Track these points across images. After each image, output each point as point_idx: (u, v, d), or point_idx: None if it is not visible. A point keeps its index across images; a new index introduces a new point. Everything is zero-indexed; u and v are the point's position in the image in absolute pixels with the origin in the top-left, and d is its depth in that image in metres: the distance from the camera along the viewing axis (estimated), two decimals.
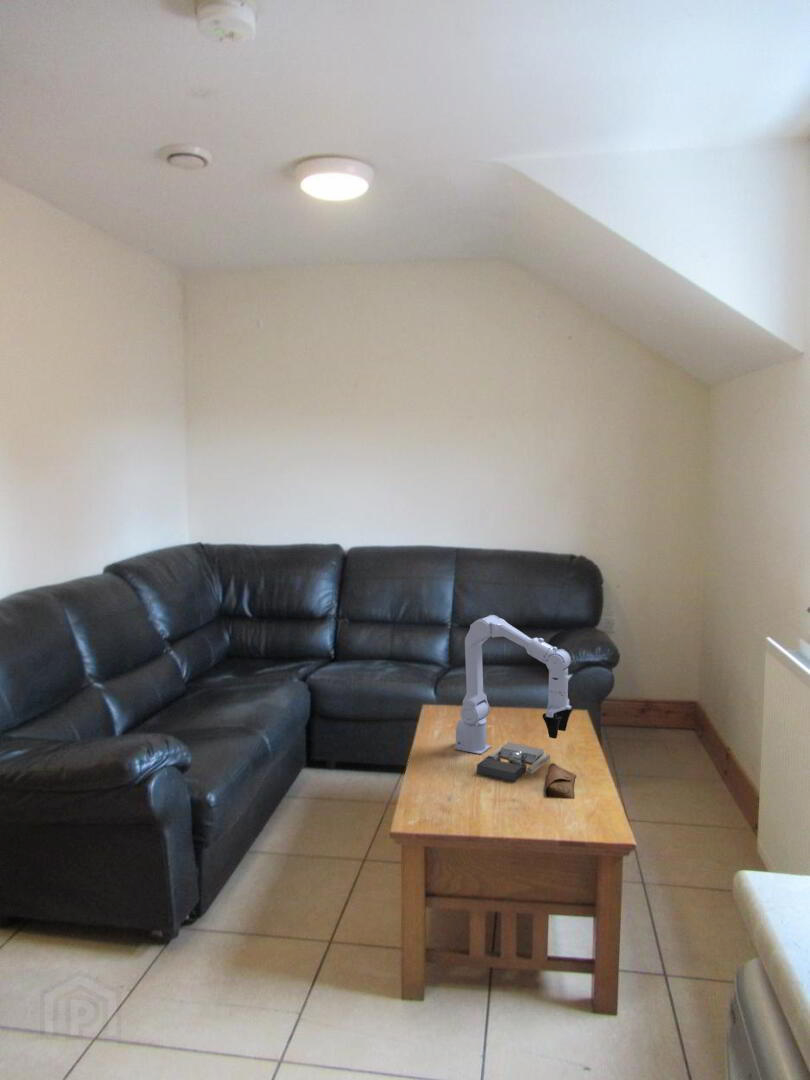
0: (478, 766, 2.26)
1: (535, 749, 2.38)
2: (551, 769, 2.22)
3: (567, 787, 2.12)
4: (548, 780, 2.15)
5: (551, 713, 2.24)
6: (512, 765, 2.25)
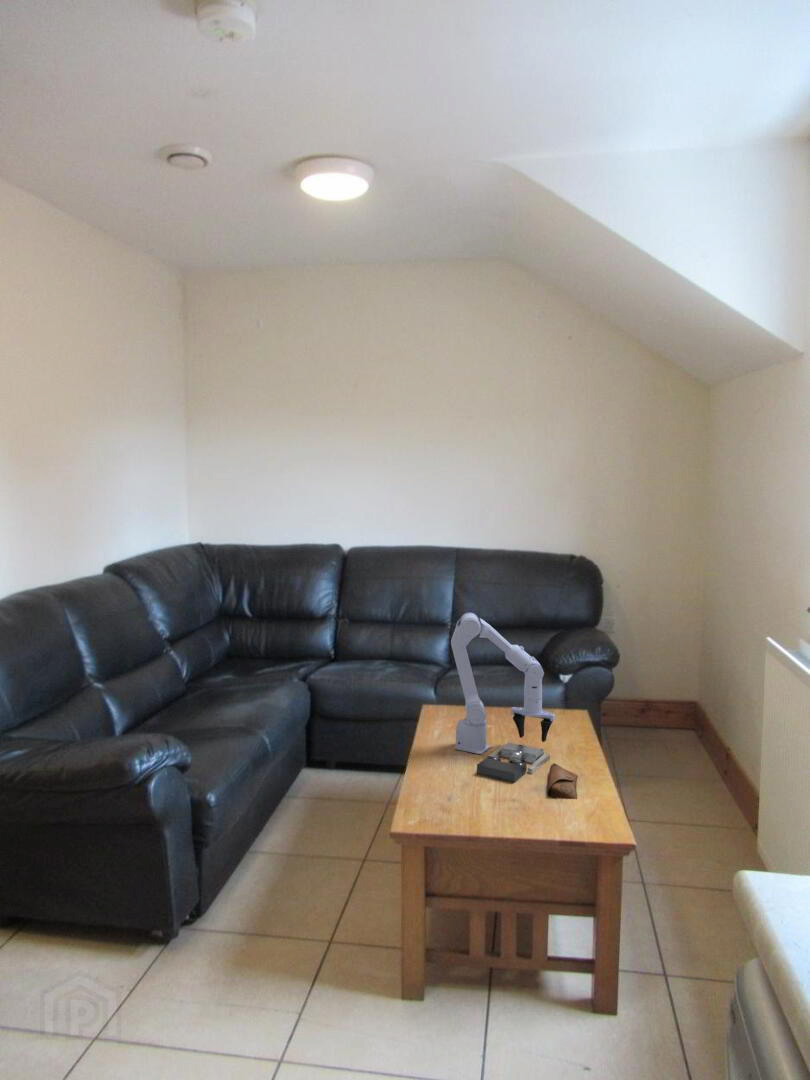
0: (478, 766, 2.26)
1: (535, 749, 2.38)
2: (553, 769, 2.22)
3: (569, 787, 2.12)
4: (550, 780, 2.14)
5: (511, 710, 2.49)
6: (512, 765, 2.25)
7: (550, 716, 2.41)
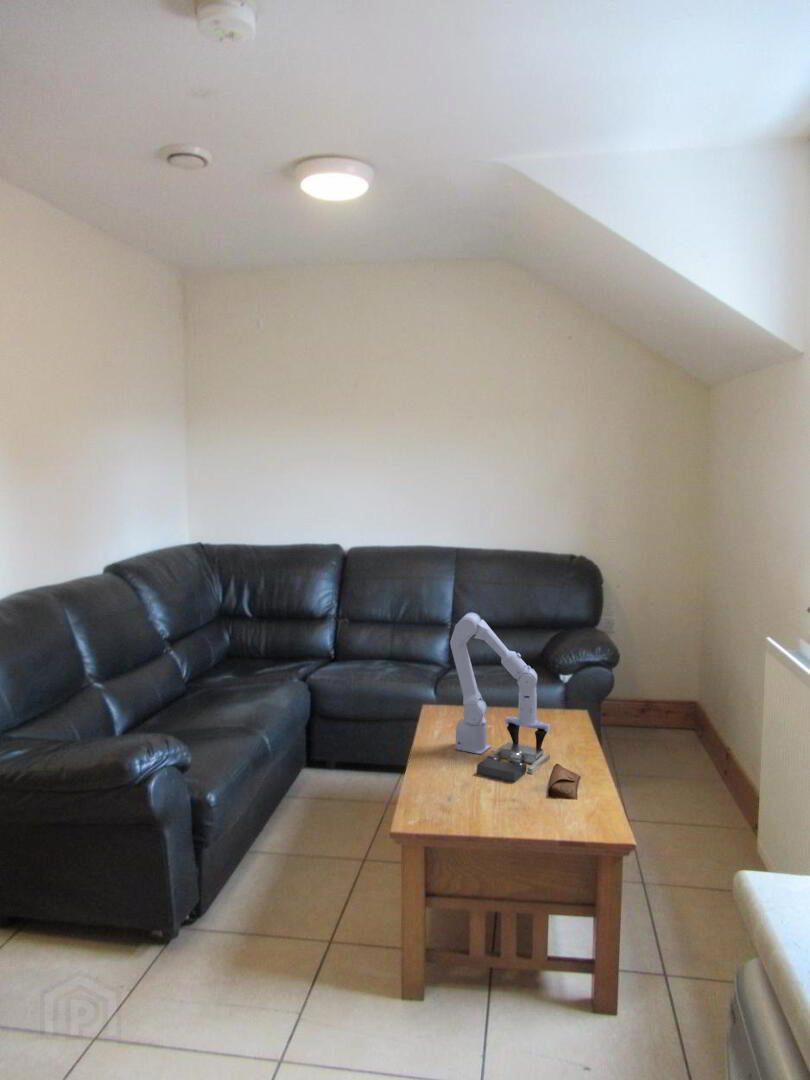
0: (478, 766, 2.26)
1: (535, 749, 2.38)
2: (555, 769, 2.21)
3: (570, 787, 2.12)
4: (551, 780, 2.14)
5: None
6: (512, 765, 2.25)
7: (545, 726, 2.38)
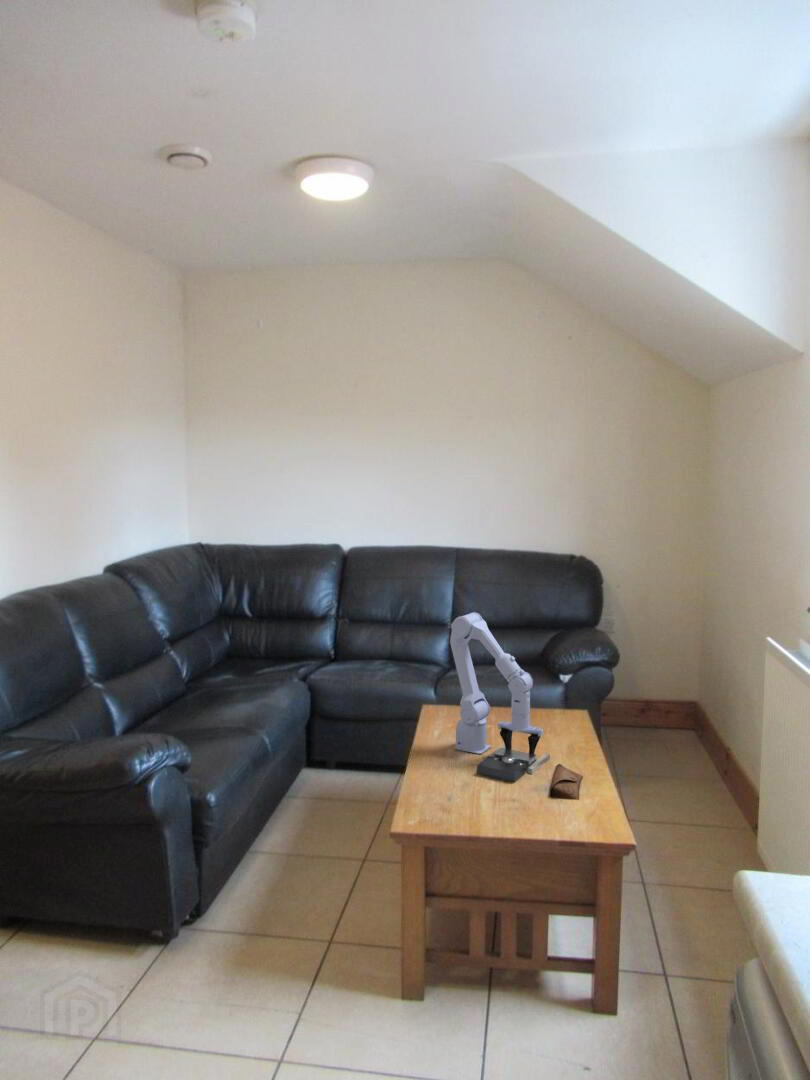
0: (478, 766, 2.26)
1: (528, 755, 2.33)
2: (557, 770, 2.21)
3: (572, 788, 2.12)
4: (553, 780, 2.14)
5: (498, 724, 2.40)
6: (512, 765, 2.25)
7: (538, 731, 2.33)
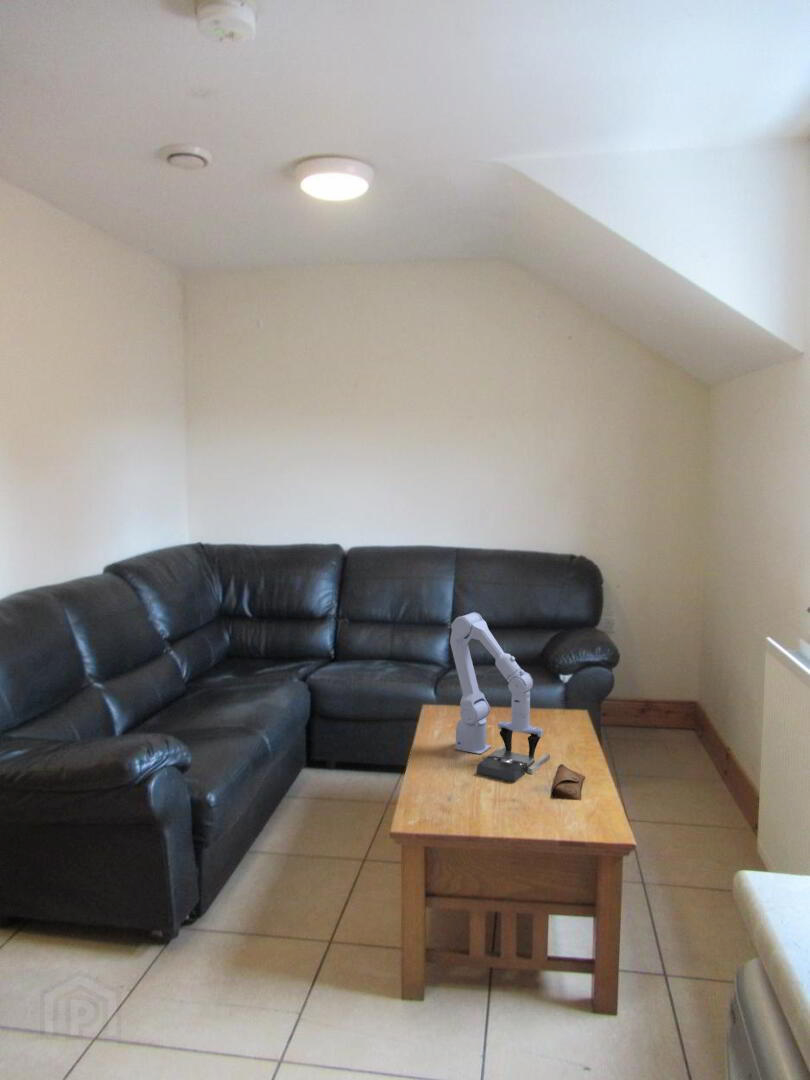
0: (478, 766, 2.26)
1: (526, 757, 2.32)
2: (559, 770, 2.21)
3: (574, 788, 2.12)
4: (555, 781, 2.14)
5: None
6: (512, 765, 2.25)
7: (538, 732, 2.33)
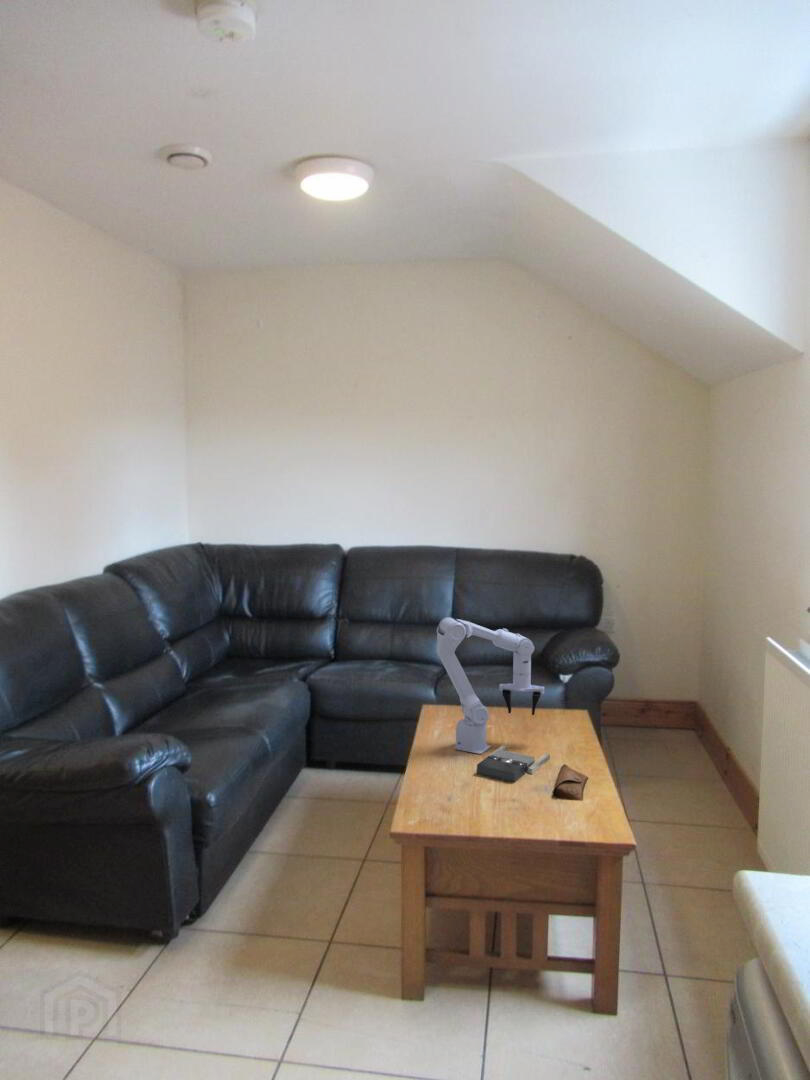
0: (478, 766, 2.26)
1: (526, 757, 2.32)
2: (562, 770, 2.21)
3: (576, 788, 2.11)
4: (557, 781, 2.14)
5: None
6: (512, 765, 2.25)
7: (541, 689, 2.47)
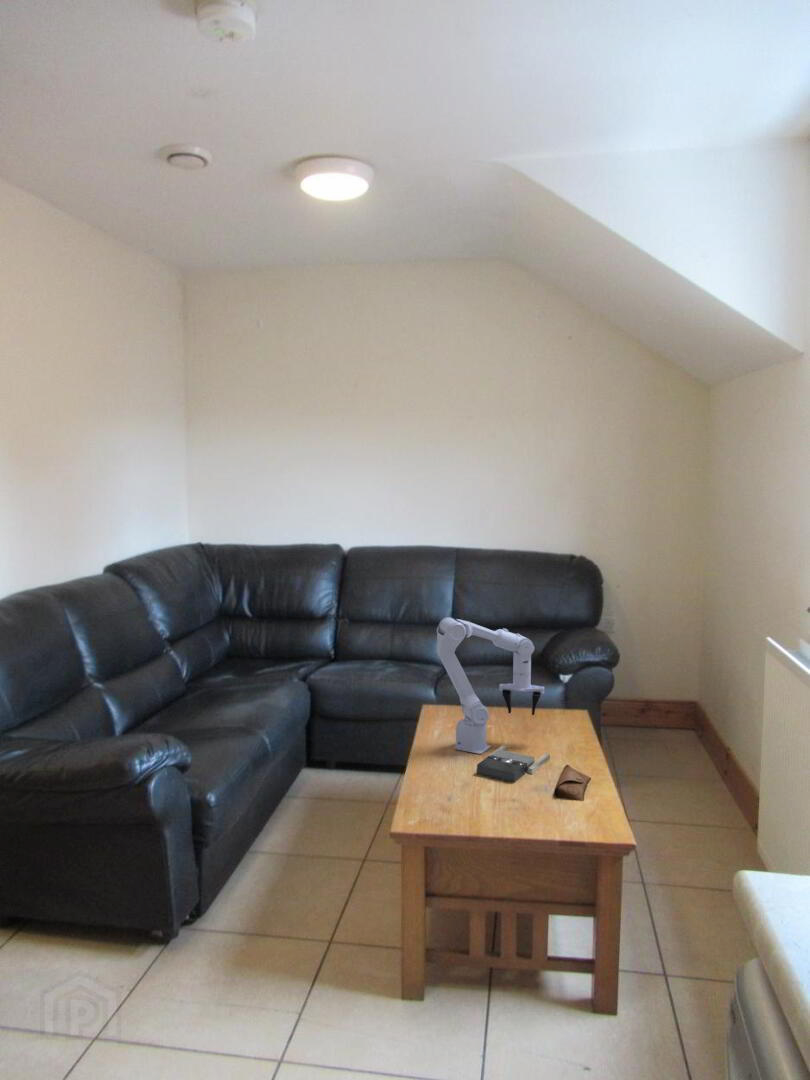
0: (478, 766, 2.26)
1: (526, 757, 2.32)
2: (564, 770, 2.21)
3: (577, 789, 2.11)
4: (559, 781, 2.14)
5: None
6: (512, 765, 2.25)
7: (541, 689, 2.47)
